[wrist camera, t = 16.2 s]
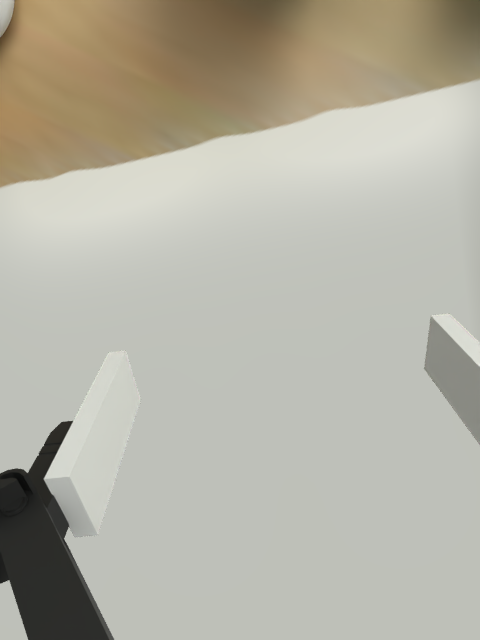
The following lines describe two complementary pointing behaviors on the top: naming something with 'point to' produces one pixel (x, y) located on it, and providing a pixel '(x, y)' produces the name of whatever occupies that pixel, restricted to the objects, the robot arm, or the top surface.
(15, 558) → the robot arm
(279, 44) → the top surface
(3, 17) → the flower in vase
